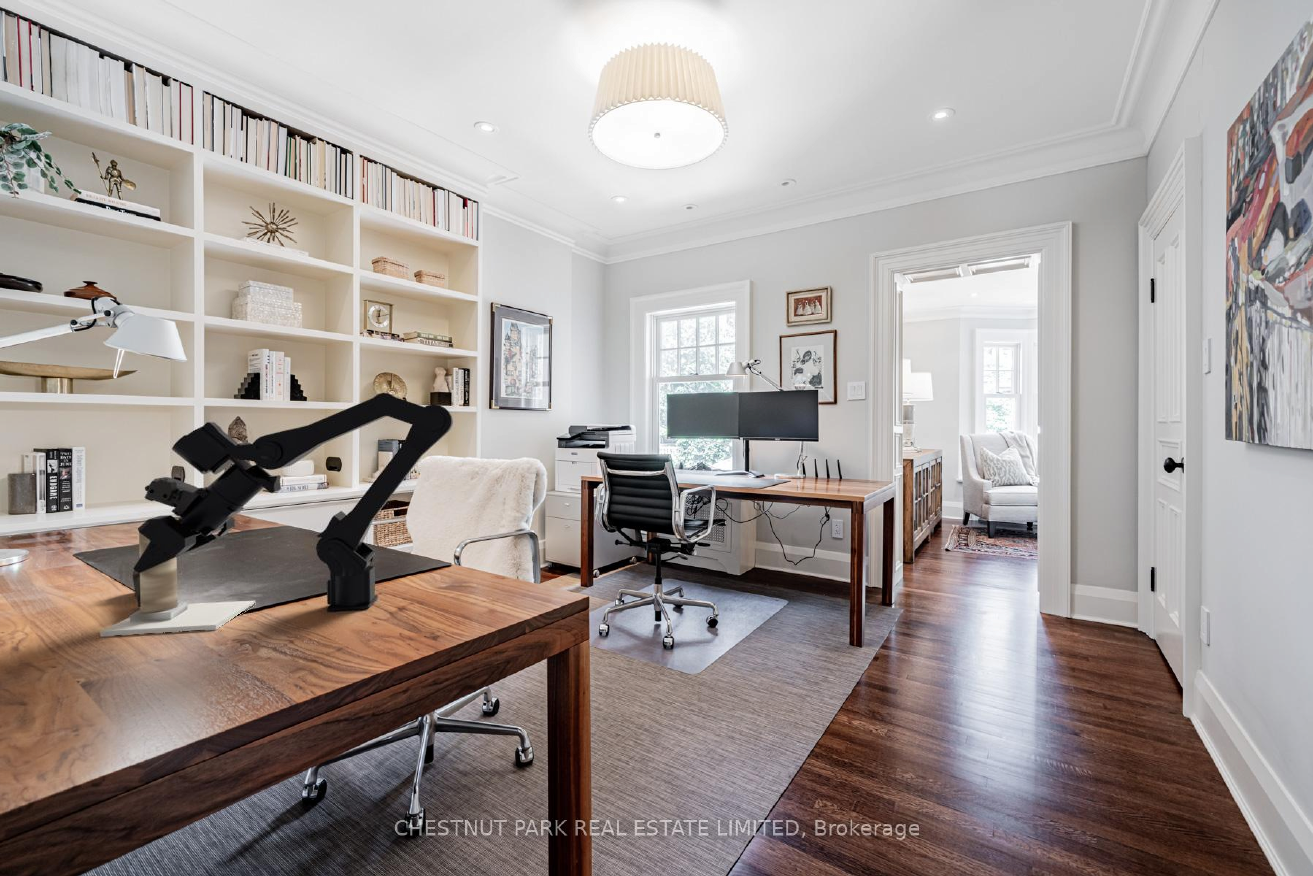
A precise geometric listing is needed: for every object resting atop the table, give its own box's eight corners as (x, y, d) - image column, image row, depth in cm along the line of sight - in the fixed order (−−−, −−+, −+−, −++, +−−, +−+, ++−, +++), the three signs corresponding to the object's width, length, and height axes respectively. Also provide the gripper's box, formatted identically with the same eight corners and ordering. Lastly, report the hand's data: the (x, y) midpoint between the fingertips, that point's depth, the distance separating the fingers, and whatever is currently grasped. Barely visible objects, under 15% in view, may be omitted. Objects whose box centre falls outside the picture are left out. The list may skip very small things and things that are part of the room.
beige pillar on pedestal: (187, 609, 93) (185, 526, 93) (170, 619, 88) (169, 532, 88) (148, 612, 92) (147, 528, 91) (129, 623, 87) (127, 534, 86)
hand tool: (171, 605, 94) (168, 578, 94) (139, 612, 91) (136, 584, 91) (161, 587, 108) (158, 563, 108) (132, 593, 105) (130, 568, 105)
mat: (255, 605, 98) (255, 600, 98) (215, 629, 86) (215, 624, 86) (155, 610, 95) (155, 605, 95) (100, 636, 83) (100, 631, 83)
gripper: (212, 456, 99) (136, 522, 96) (153, 463, 82) (58, 544, 79) (265, 499, 102) (192, 565, 99) (219, 515, 84) (129, 596, 81)
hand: (147, 566), depth 89 cm, fingers open, 6 cm apart
